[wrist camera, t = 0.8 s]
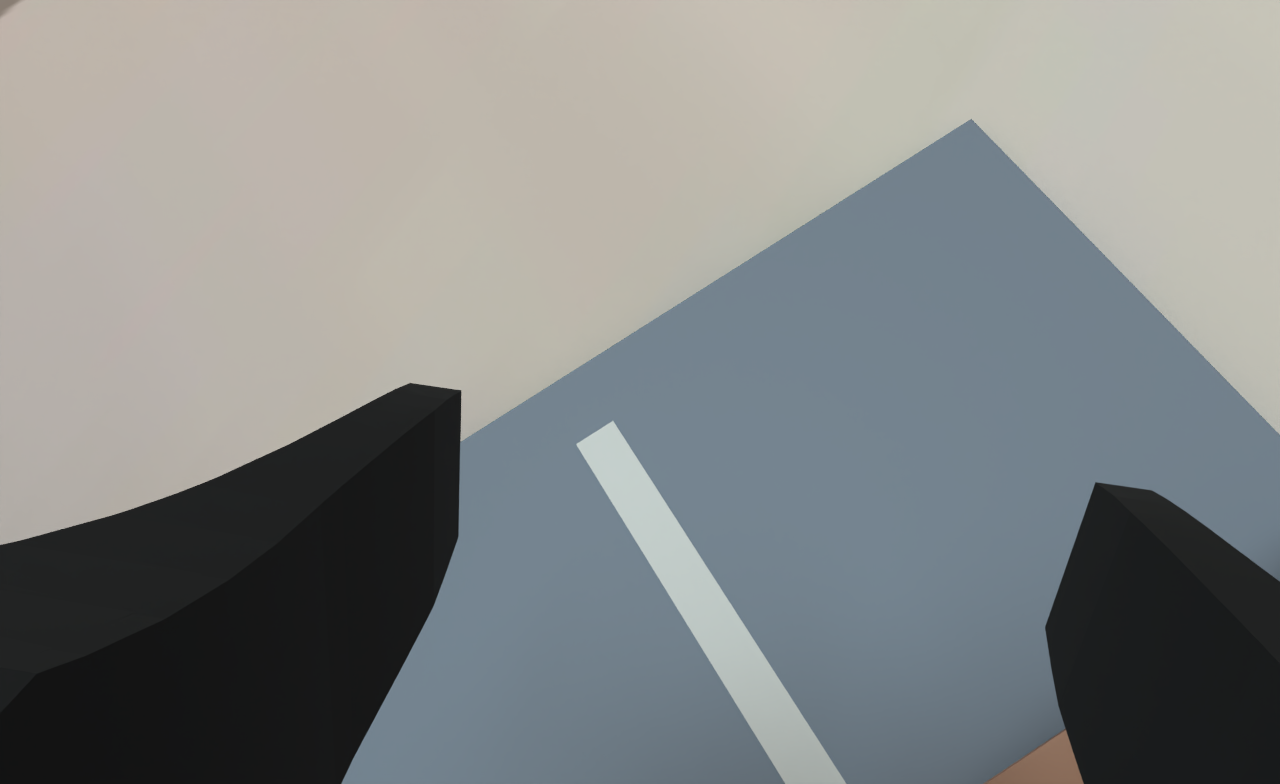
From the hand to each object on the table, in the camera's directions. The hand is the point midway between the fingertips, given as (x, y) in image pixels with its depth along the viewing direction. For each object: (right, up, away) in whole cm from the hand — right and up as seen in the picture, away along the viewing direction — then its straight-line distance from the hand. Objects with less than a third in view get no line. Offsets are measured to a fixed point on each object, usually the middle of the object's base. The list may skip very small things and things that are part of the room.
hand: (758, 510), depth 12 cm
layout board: (+2, -6, +14) cm, 15 cm away
